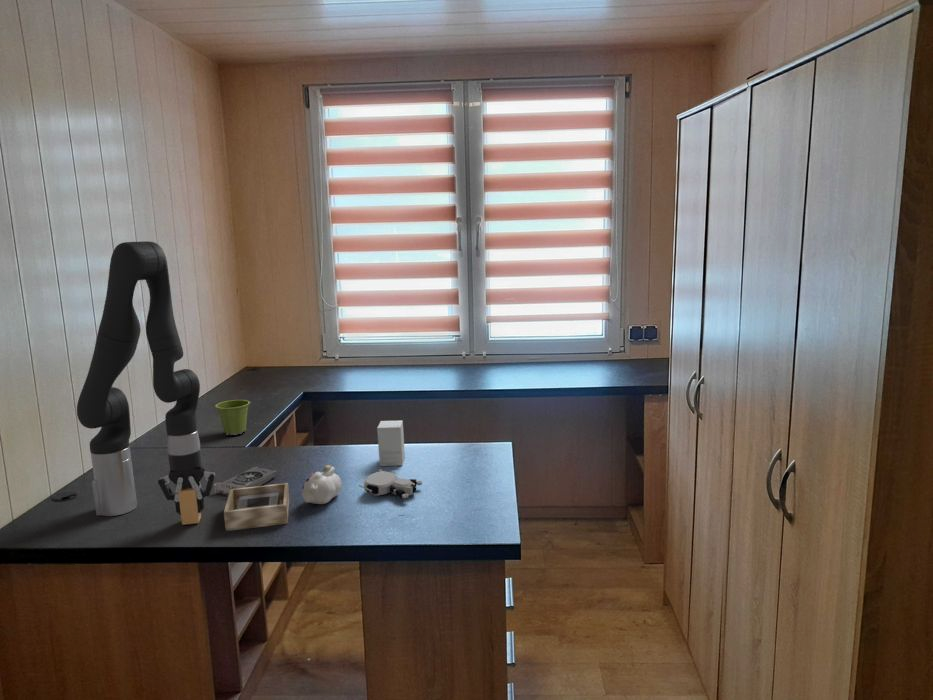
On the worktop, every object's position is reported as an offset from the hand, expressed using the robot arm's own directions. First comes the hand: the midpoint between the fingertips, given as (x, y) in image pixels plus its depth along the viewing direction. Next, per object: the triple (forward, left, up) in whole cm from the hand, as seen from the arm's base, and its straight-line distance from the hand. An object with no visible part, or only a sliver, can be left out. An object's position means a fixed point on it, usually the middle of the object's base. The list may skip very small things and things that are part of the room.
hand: (190, 512), depth 171 cm
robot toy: (+52, +4, -3) cm, 52 cm away
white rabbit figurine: (+33, +4, -3) cm, 33 cm away
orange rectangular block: (0, 0, -2) cm, 2 cm away
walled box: (+17, -1, -3) cm, 17 cm away
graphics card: (+13, +21, -3) cm, 25 cm away
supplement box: (+55, +28, -3) cm, 62 cm away
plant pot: (+4, +74, -3) cm, 74 cm away
